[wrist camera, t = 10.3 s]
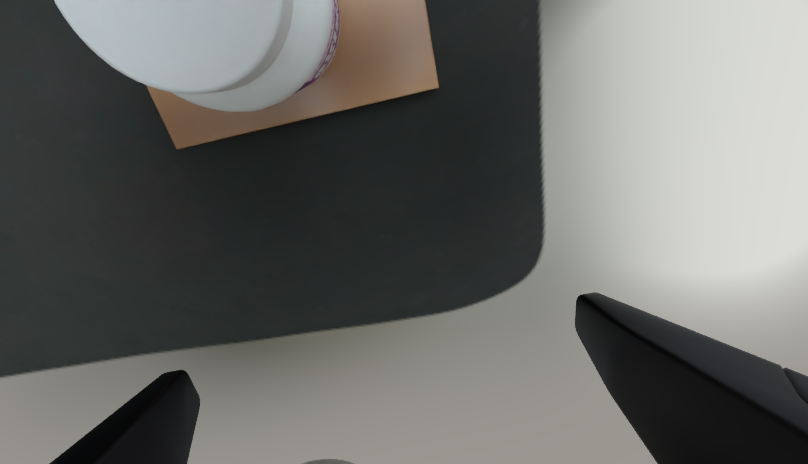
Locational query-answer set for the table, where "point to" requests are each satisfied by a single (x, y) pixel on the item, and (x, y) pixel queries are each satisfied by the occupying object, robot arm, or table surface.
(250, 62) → the pill bottle
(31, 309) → the table surface
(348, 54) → the wooden board
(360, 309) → the table surface
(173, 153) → the table surface
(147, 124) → the table surface
